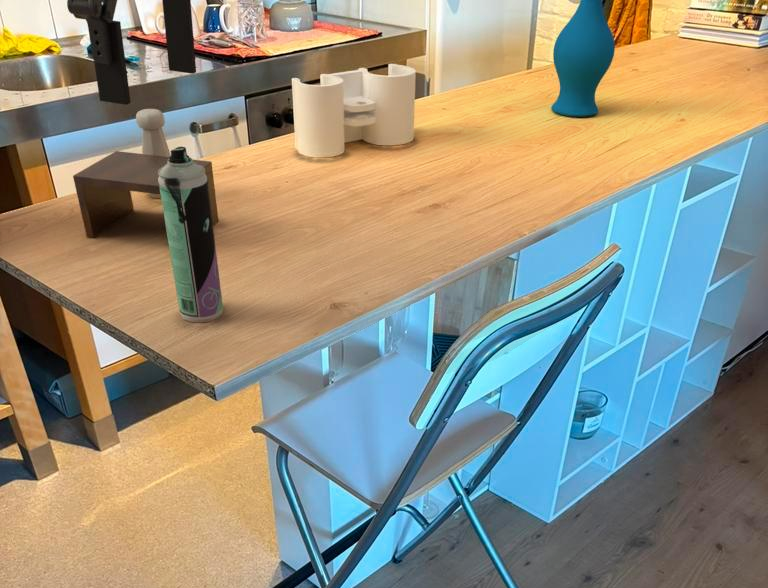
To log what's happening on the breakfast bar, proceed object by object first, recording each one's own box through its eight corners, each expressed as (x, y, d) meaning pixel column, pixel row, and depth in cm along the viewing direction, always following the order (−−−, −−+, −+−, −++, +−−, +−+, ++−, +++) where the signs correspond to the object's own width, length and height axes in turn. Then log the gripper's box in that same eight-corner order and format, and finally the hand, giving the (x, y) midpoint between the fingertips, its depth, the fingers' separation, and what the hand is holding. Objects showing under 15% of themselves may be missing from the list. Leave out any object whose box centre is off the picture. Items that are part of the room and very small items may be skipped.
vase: (551, 102, 184) (571, -47, 166) (607, 108, 181) (634, -43, 162) (540, 116, 175) (560, -40, 157) (599, 122, 172) (626, -36, 154)
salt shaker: (137, 195, 135) (121, 111, 127) (162, 185, 139) (149, 103, 130) (161, 203, 133) (147, 117, 124) (187, 193, 136) (175, 109, 128)
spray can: (223, 321, 102) (203, 155, 89) (179, 323, 101) (152, 156, 88) (223, 301, 106) (203, 140, 93) (180, 304, 105) (154, 141, 92)
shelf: (86, 237, 122) (72, 175, 116) (127, 209, 130) (116, 150, 125) (184, 250, 118) (174, 187, 112) (218, 221, 127) (211, 161, 121)
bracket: (314, 161, 150) (311, 89, 142) (289, 147, 156) (285, 78, 148) (423, 140, 161) (426, 72, 153) (395, 128, 167) (397, 62, 159)
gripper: (75, -207, 56) (120, 123, 70) (225, -193, 74) (238, 65, 88) (-21, -214, 57) (43, 111, 71) (151, -199, 76) (174, 56, 89)
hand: (151, 86), depth 80 cm, fingers open, 13 cm apart
